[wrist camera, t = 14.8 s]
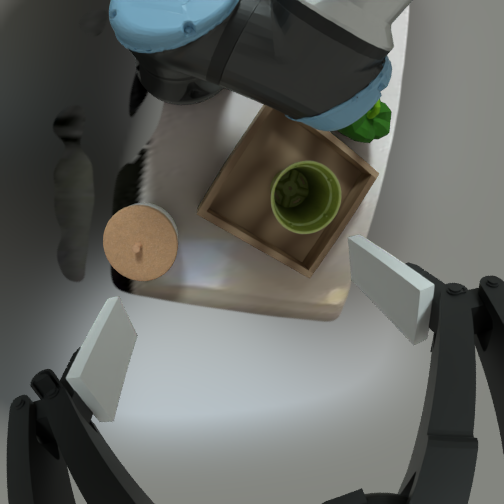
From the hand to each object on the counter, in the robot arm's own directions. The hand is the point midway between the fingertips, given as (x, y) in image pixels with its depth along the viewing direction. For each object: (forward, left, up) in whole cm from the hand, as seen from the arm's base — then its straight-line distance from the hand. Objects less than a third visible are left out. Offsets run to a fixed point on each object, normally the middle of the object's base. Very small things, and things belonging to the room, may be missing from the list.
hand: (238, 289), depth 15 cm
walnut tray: (+8, +7, -31) cm, 32 cm away
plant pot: (+8, +7, -29) cm, 31 cm away
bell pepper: (+11, +23, -31) cm, 40 cm away
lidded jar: (-7, -10, -31) cm, 33 cm away
